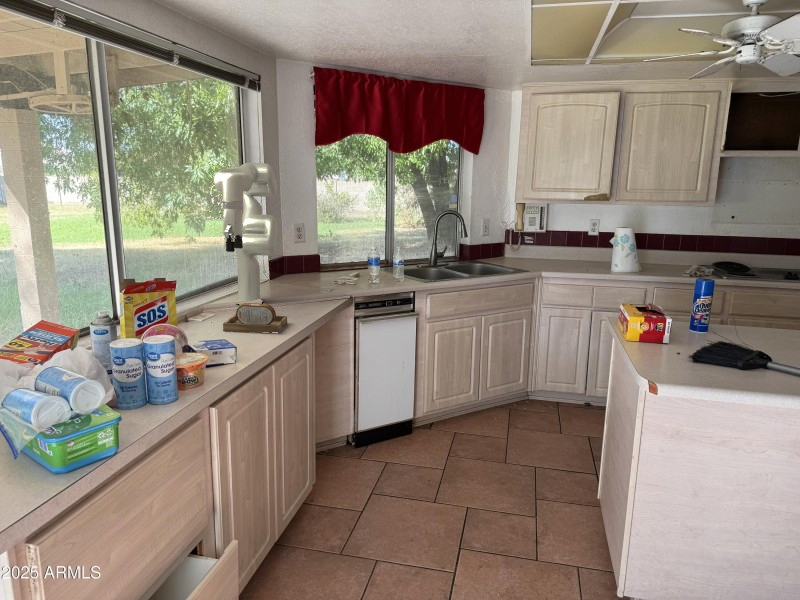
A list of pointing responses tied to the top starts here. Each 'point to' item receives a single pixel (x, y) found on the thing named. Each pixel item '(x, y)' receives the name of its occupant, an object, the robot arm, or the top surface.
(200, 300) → the top surface
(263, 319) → the tin
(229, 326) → the walnut tray
